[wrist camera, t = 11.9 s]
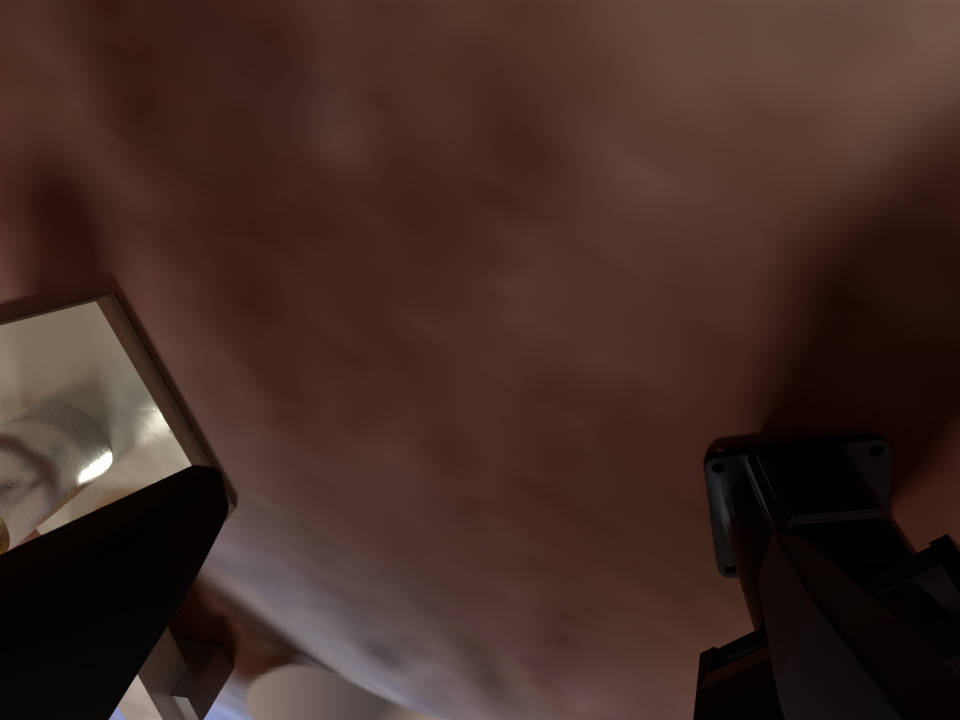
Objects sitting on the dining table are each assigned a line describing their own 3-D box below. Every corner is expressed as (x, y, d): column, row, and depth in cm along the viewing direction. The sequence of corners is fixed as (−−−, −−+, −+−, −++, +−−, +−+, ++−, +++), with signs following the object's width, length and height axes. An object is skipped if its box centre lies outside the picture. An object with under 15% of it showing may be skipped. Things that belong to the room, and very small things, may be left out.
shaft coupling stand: (326, 668, 34) (287, 757, 29) (28, 675, 40) (-40, 748, 36) (113, 293, 24) (8, 341, 20) (-233, 381, 31) (-371, 432, 26)
